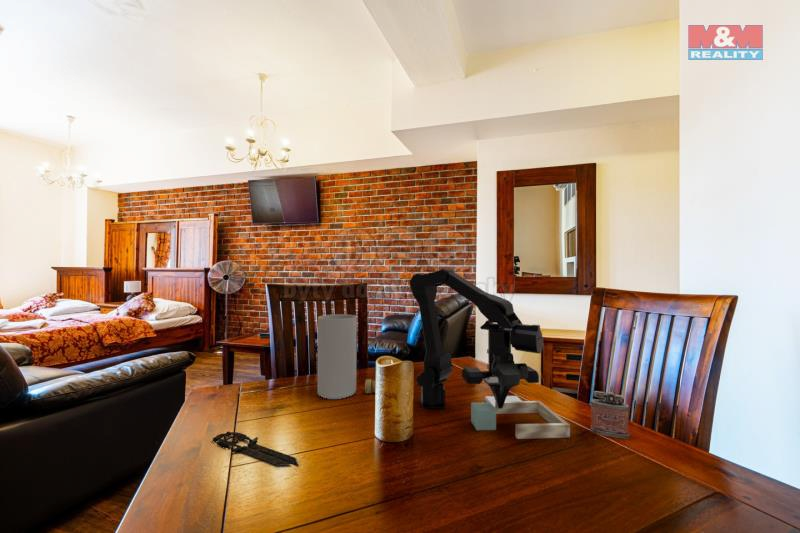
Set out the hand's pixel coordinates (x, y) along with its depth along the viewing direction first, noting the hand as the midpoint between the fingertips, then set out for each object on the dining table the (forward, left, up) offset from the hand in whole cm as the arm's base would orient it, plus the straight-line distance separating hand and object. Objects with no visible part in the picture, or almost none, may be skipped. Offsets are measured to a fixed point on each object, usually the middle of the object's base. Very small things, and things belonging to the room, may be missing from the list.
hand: (499, 407), depth 86 cm
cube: (-4, 0, -4) cm, 6 cm away
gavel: (-30, +33, -5) cm, 45 cm away
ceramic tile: (+6, +13, -4) cm, 15 cm away
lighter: (+25, -6, -5) cm, 26 cm away
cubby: (+8, 0, -4) cm, 9 cm away
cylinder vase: (-45, +25, -5) cm, 52 cm away
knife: (-59, -9, -5) cm, 59 cm away
